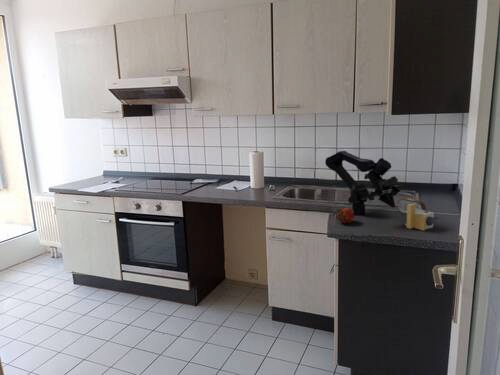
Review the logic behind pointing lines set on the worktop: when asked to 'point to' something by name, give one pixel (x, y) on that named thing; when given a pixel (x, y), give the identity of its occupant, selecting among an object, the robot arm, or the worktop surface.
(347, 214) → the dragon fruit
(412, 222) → the side door
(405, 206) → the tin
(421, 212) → the camera housing
